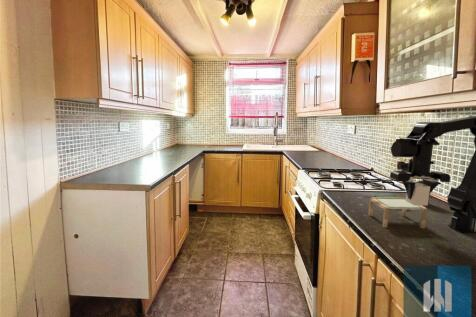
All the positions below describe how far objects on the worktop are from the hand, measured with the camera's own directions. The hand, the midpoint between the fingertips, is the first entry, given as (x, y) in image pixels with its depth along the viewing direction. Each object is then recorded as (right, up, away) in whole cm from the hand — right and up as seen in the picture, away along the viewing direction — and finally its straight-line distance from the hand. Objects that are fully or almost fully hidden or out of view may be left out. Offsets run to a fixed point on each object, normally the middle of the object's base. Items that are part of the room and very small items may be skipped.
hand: (416, 199), depth 101 cm
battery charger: (+24, -7, +34) cm, 42 cm away
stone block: (0, -2, 0) cm, 2 cm away
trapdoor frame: (-2, -11, +10) cm, 15 cm away
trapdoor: (-2, -4, +9) cm, 10 cm away
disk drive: (+8, -8, +33) cm, 35 cm away
